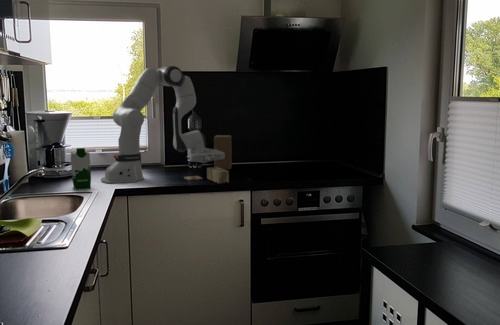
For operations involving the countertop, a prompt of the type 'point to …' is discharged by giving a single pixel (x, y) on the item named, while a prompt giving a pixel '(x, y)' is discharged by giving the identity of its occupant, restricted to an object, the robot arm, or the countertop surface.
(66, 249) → the countertop surface
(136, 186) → the countertop surface
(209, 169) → the tall oak block
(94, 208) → the countertop surface
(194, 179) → the cork trivet
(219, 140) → the wooden block
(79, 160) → the milk carton
